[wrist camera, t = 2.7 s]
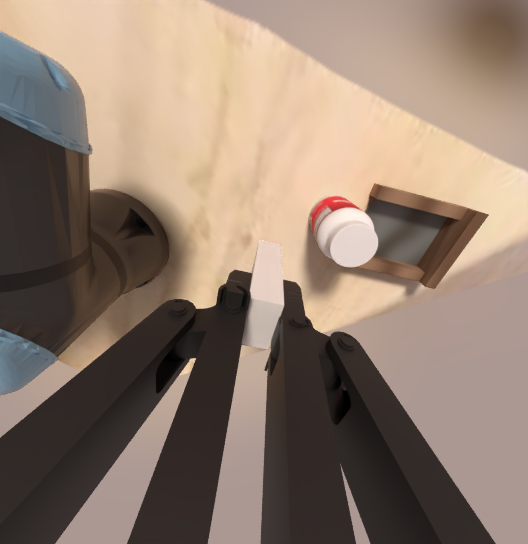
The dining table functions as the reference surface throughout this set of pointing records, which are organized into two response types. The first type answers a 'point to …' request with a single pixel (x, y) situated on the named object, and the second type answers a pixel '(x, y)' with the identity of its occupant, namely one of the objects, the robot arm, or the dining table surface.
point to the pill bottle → (343, 231)
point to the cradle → (418, 234)
